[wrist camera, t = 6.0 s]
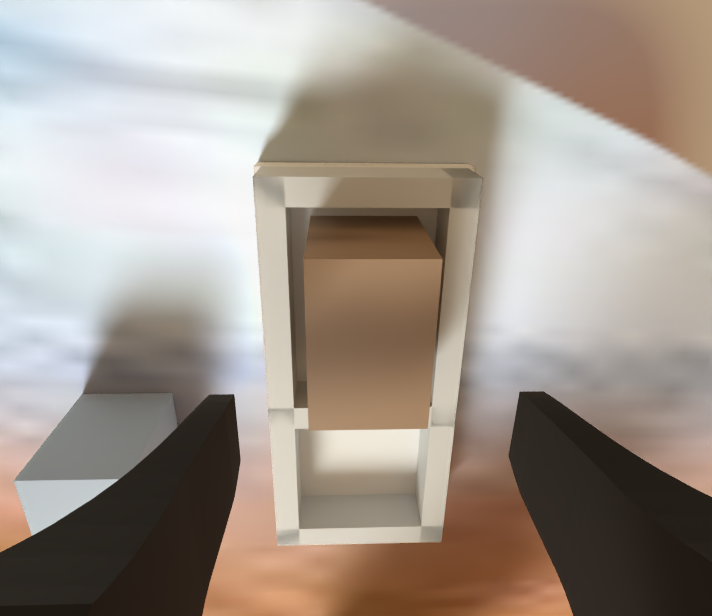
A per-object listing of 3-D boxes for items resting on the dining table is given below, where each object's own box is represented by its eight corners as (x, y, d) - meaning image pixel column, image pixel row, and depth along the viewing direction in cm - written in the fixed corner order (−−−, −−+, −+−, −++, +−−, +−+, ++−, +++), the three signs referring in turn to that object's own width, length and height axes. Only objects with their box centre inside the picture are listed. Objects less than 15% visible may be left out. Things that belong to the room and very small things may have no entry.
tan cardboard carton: (408, 355, 22) (428, 429, 17) (313, 355, 22) (308, 430, 17) (416, 216, 19) (442, 259, 15) (310, 215, 19) (303, 259, 15)
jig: (435, 493, 26) (446, 541, 24) (278, 496, 26) (272, 545, 23) (468, 163, 20) (490, 178, 17) (257, 161, 19) (244, 176, 17)
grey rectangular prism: (183, 461, 25) (145, 558, 20) (99, 463, 25) (40, 560, 20) (172, 392, 23) (128, 479, 18) (82, 393, 23) (13, 481, 18)
